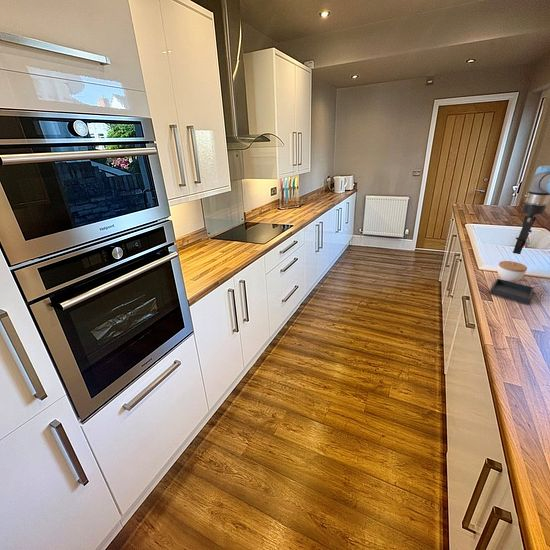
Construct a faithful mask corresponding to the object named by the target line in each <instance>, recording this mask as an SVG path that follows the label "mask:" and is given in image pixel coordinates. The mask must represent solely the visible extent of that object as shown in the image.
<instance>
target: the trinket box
mask: <svg viewBox="0 0 550 550" xmlns="http://www.w3.org/2000/svg"><path fill="white" fill-rule="evenodd" d="M527 270H528V267H527V265H525V264H522V263H520V262H518V261H517V262H516V261H513V260H512V261H511V260H502V261H499V263H498V266H497V275H498V277H499V279H501V280H506V281H510V282H514V283H516V282H517V281H519V280H521V279H523V277H524V276H525V274H526V273H527V272H526V271H527Z"/></svg>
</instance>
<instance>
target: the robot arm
mask: <svg viewBox="0 0 550 550" xmlns="http://www.w3.org/2000/svg"><path fill="white" fill-rule="evenodd" d="M524 197H525V201H524V202H525V203H524V204H523V206H522V209H521V212H522V213H525V214H527V215H525V216H524V218H523V222H522V224H521V229H520V232H519V234H518V236H517V237H515V240H516V243H515V245H514V248H513V251H512V254H517V255H521V253H522V250H523V248H524V247H525V245H526V243H527V240H528V237H529V235H530V233H532V231H533V230H532V227H533V226H534V223H535V222H536V220H537V216H536V215H543V214H544V213H545V211H546V208H547V205H548V204H549V201H550V165H540V166H538V167H537V168H536V169H535V173H534V174H533V178H532V181H531V184H530V187H529V190H528V193H527V194H525V196H524Z"/></svg>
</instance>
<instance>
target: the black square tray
mask: <svg viewBox="0 0 550 550" xmlns="http://www.w3.org/2000/svg"><path fill="white" fill-rule="evenodd" d="M534 290H535V287H534V286H530V285H526V284H521V283H518V282H510V281H506V280H501V279H500V278H496V280H495V281H494V283H493V284H492V287H491V289H490V290H489V294H490V295H493V296H496V297H501V298H504V299H508V300H511V301H515V302H519V303H523V304H526V305H529V303H530V301H531V298H532V295H533V292H534Z"/></svg>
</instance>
